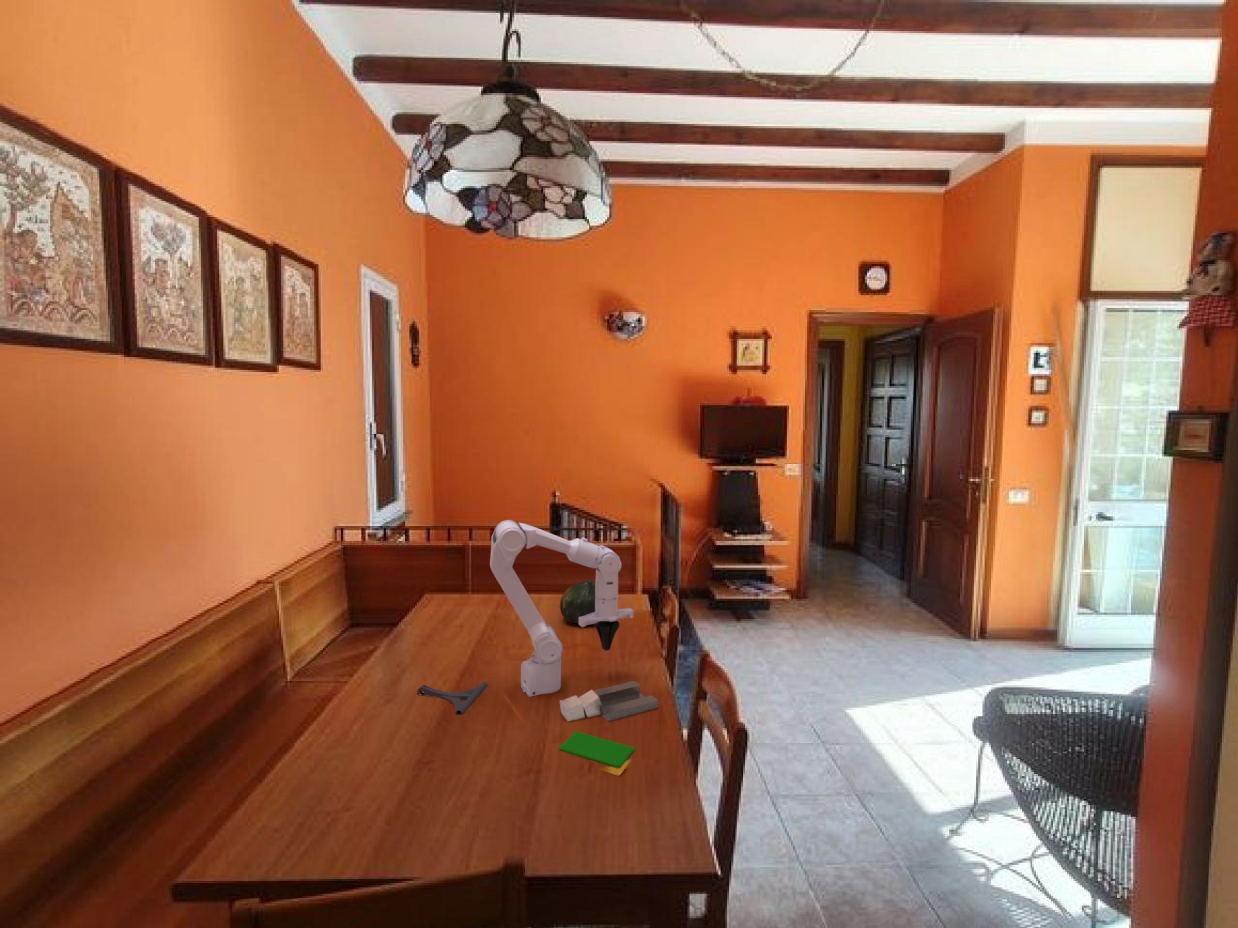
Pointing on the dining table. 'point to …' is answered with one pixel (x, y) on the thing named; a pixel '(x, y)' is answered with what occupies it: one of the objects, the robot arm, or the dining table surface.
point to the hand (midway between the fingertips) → (606, 648)
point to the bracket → (455, 696)
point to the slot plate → (624, 701)
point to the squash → (578, 601)
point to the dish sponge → (599, 751)
